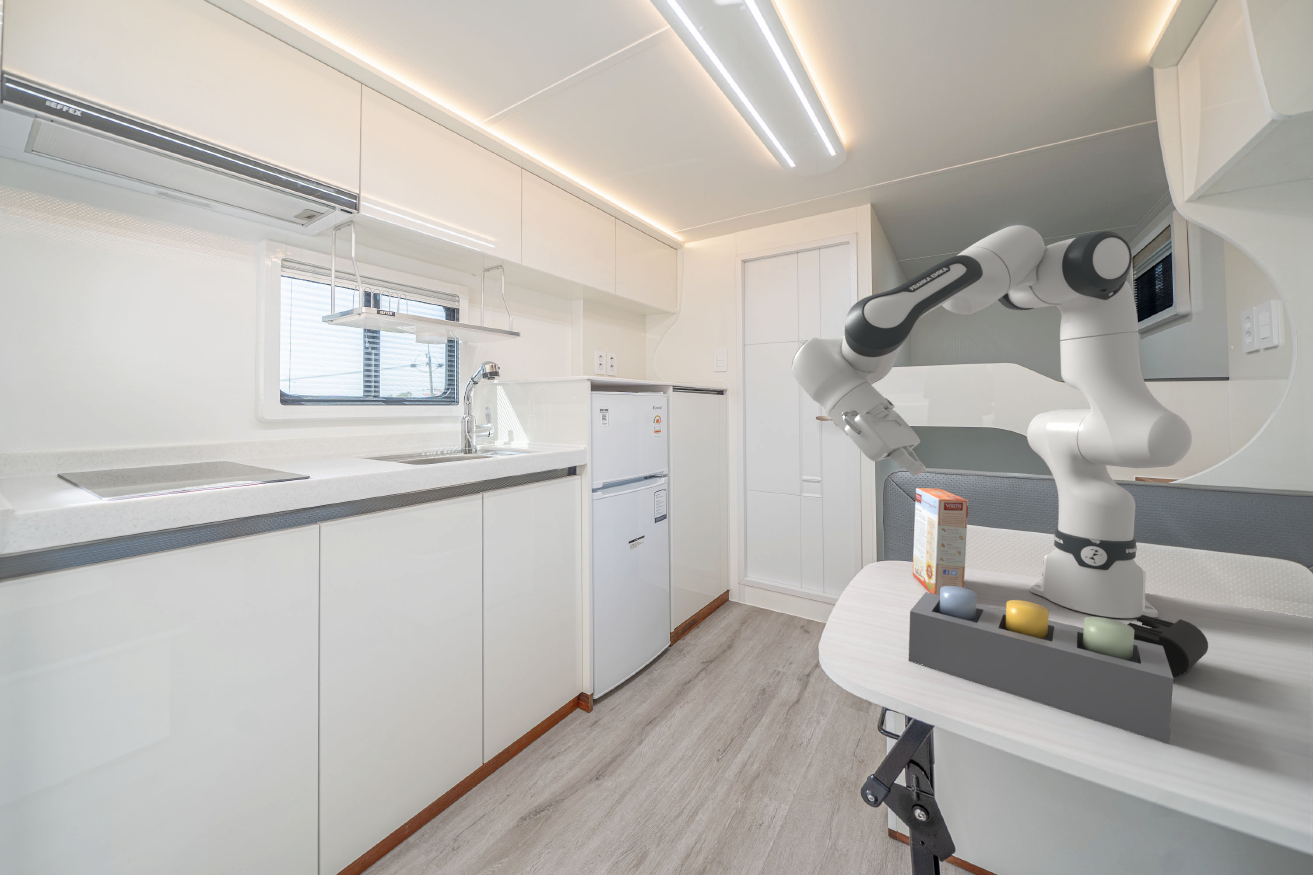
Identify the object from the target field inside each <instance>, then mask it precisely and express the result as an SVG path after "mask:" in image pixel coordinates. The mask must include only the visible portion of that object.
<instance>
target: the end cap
mask: <svg viewBox="0 0 1313 875" xmlns="http://www.w3.org/2000/svg"><path fill="white" fill-rule="evenodd" d="M1136 622H1139V623H1141V624H1136V623H1133V622H1128V623H1127V625H1129V626H1130V627H1132V628H1133V629H1134V640H1138V641H1143V642H1147V643H1152V644H1156V645H1160V646H1163V648H1164V651H1165V654H1166V657H1167V660H1168V663H1169V666H1170V670H1171V673H1172V676H1173V678H1178V677H1181V676H1183V675H1185V674H1186V673H1187V672H1188V671H1190V669H1191V668H1192V667H1193V666H1194V665H1195V664H1196V663H1197V662H1198V661H1200V660H1201V658H1203V657H1204V656H1205V655H1206V654H1207V652H1208V649H1209V642H1208V639H1207V637H1206V635H1205V634H1204V632H1203V631H1201V629H1200V628H1198V627H1197V626H1196V625H1194V624H1192V623H1191V622H1189V621H1187V620H1184V619H1178V620H1177V621H1176V622H1171V621H1167V620H1164V619H1160V618H1158V617H1149V616H1146V615H1141V616H1139V617H1136Z"/></svg>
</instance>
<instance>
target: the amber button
mask: <svg viewBox="0 0 1313 875" xmlns="http://www.w3.org/2000/svg"><path fill="white" fill-rule="evenodd" d="M1005 606H1006V609H1005V610H1006V628H1007V629H1008V630H1009V631H1011V632H1015V633H1019V634H1023V635H1027V636H1031V637H1035V638H1039V639H1043V638H1046V637H1047V636H1048V620H1049V618H1050V617H1049V616H1050V615H1049V614H1050V612H1049V609H1048V608H1046V606H1043V605H1041V604H1039V603H1035V602H1031V601H1026V600H1021V599H1019V600H1018V599H1012V600H1007V601H1006V605H1005Z"/></svg>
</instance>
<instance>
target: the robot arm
mask: <svg viewBox="0 0 1313 875" xmlns="http://www.w3.org/2000/svg"><path fill="white" fill-rule="evenodd" d="M1132 258H1133V254H1132V250H1131V247H1130V245H1129V243H1128V242H1127V241H1126V239H1124V238H1123V236H1121V235H1120V234H1119V233H1117V232H1114V231H1110V230H1107V231H1106V230H1102V231H1091V232H1087V233H1082V234H1081V235H1079V236H1077V237H1073V238H1069V239H1065V240H1062V241H1061V240H1060V241H1057V242H1055V243H1052V244H1049V245H1045V242H1044V240H1043V236H1041V234H1040V233H1039V232H1038V231H1037V230H1036V229H1034V228H1033V227H1030V226H1027V225H1023V224H1020V225H1019V224H1017V225H1010V226H1007V227H1005V228H1002V229H1000V230H997V231H995V232H993V233H991V234H988V235H987V236H986V237H983V238H982V239H980V240H978V241H977V242H975V243H973V244H972V245H970V246H968V247H967V248H965V249H964V250H962V251H961V252H960V253H958V254H957V255H956V256H951V257H949V258H947V259H945V260H943V261H941V262H938V263H937V264H935V265H933V266H932V267H930V268H928V269H926V270H924V271H923V272H921V273H919V274H917V275H916V276H914V277H913V278H911V279H909V280H908V281H906V282H903V283H902V284H900V285H898V286H897V287H894V288H892V289H889V290H885V291H882V292H879V293H875V294H871V295H869V296H865V297H864V298H861V299H860V300H858V301H857V302H856V303H854V304H853V305H852V306H851V308H850V309H849V310H848V312H847V314H846V318H845V324H844V335H841V336H838V337H832V338H819V337H811V338H810V339H808V340H806V341H805V342H804V343H802V345H801V346H800V347H799V349H798V350H797V351H796V353H795V354H794V356H793V359H792V363H791V373H792V375H793V376H794V378H795V380H796V381H797V383H798V384H799V385H800V386H801V387H802V389H803V390H804V391H805V392H806V394H807V395H808V396H809V397H810V399H812V401H815V402H816V403H817V404H819V405H820V406H822V408H823V409H824V410H825V413H826V414H827V416H828V418H830V419H831V420H832V421H833V422H834V424H836V426H838V427H839V429H840V430H841V431H842V432H843V433H844V434H845V435H846V436H848V437H849V438H850V439H851V440H852V442H853V443H854V444H855V445H856V446H857V448H858V449H859V450H860V451H861V452H862V454H863V455H864V456H866V457H867V458H868V459H869V460H871V461H872V462H879V461H882V460H887V459H890V458H891V459H892V460H893V461H894V462H895V463H896V464H897V465H899V466H901V467H902V468H903V469H905V470H906V471H907V472H908V473H909V474H910V475H911V476H913V477H915V476H918V475H920V474H922V473H923V472H924V471H925V470H926V468H927V467H926V466H925V465H924V464H923V463H922V461H920V460H919V458H918V456H917V455H916V453H915V452H914V450H913V449H914V448H916V447H917V446H918V445H919V444H920V443H921V440H920V438H919V436H918V435H917V433H916V432H915V430H914V429H913V428H912V427H911V426H910V425H909V424H908V423H907V422H906V420H905V419H904V418H903V417H902V416H901V415H900V414H899V413H898V412H897V411H896V410H894V408H895V404H893V403H892V401H890V400H889V399H888V398H886V397H884V395H882V393H880V391H878V389H877V388H875V387H874V386H873V384H876V383H877V382H879V381H881V380H882V379H884V378H885V377H886V376H887V375H888V374H889V373H890V372H891V370H892V369H893V367H894V365H895V363H896V361H897V359H898V355H900V352H901V349H902V348H903V346H904V344H905V341H906V340H907V339H908V337H909V335H910V333H911V332H912V329H913V328H914V326H915V324H916V323H917V322H918V321H919V320H920V319H921V318H922V317H924V316H926V315H928V314H929V313H931V312H933V311H935V310H936V309H938V308H939V307H941V306H942V307H943V308H944V309H945V310H947V311H949V312H951V313H954V314H958V315H963V316H964V315H967V316H968V315H972V314H975V313H977V312H979V311H981V310H983V309H985V308H987V307H990V305H993V304H994V303H996V302H997V301H998V303H1000V304H1001V305H1002V306H1003V307H1004V308H1006V309H1008V310H1013V311H1014V310H1015V311H1029V310H1033V309H1035V308H1036V309H1039V308H1046V307H1054V306H1055V307H1057V308H1058V310H1059V313H1060V314H1061V316H1060V325H1059V326H1060V327H1059V340H1060V341H1059V347H1060V348H1059V350H1060V375H1061V379H1062V380H1063V382H1064V383H1065V384H1066V385H1068V386H1070V387H1071V388H1073V389H1075V390H1077V391H1079V392H1080V393H1082V395H1083V396H1084V397H1085V399H1086V401H1087V402H1088V404H1089V407H1090V408H1087V407H1085V408H1084V407H1082V408H1081V407H1080V408H1079V407H1077V408H1076V407H1074V408H1073V407H1072V408H1071V407H1066V408H1065V407H1064V408H1058V409H1052V410H1047V411H1043V412H1040V413H1038V414H1036V415H1035V416H1034V417H1033V418H1032V420H1031V421H1030V423H1029V424H1028V426H1027V432H1026V439H1027V443H1028V445H1029V447H1030V448H1031V450H1032V451H1033V452H1035V453H1036V454H1037V455H1038V456H1039V457H1041V459H1042V460H1043V461H1044V462H1045V464H1046V466H1047V468H1049V470H1050V472H1051V474H1052V478H1053V479H1054V482H1055V485H1056V488H1057V494H1058V496H1057V497H1058V520H1057V523H1058V524H1057V527H1056V528H1055V530H1054V535H1053V540H1054V542H1053V543H1054V544H1053V545H1054V549H1053V550H1052V551H1050V552H1048V553H1047V554H1045V555H1044V557H1043V559H1042V562H1043V571H1042V574H1041V576H1042V578H1041V579H1039V580H1038V581H1037V582H1036V583H1034V584H1033V585H1031V586H1030V592H1031V593H1033V594H1035V595H1039V596H1041V597H1043V598H1045V599H1047V600H1049V601H1051V602H1053V603H1055V604H1057V605H1059V606H1062V607H1065V608H1067V609H1070V610H1074V611H1077V612H1082V613H1084V614H1090V615H1095V616H1098V617H1104V618H1115V619H1133V618H1138V617H1139V616H1141V615H1146V616H1149V617H1153V618H1158V617H1159V611H1158V610H1157V609H1156V608H1155V607H1154V606H1152V604H1151V603H1150V602H1149V601H1147V599H1146V579H1147V578H1146V576H1147V575H1146V571H1145V570H1144V569H1143V568H1142V567H1141V566H1140V565H1139V564H1137V562H1136V561H1135V558H1136V555H1137V550H1138V547H1137V539H1136V538H1134V536H1135V535H1134V534H1135V533H1134V532H1135V517H1136V501H1135V498H1134V497H1133V495H1132V494H1131V493H1130V492H1129V491H1128V490H1127V489H1125V488H1123V487H1122V486H1121V485H1119V484H1117V483H1116V482H1115V481H1114V480H1113V478H1112V477H1111V475H1110V473H1109V471H1108V468H1107V466H1111V467H1120V468H1129V469H1154V468H1167V467H1171V466H1174V465H1175V464H1177V463H1179V462H1180V461H1181V460H1182V459H1184V458H1185V457H1186V455H1187V454H1188V452H1189V450H1190V449H1191V448H1192V447H1191V446H1192V441H1193V438H1192V437H1193V435H1192V431H1191V429H1190V427H1189V425H1188V423H1187V422H1186V421H1185V419H1184V418H1182V417H1181V416H1180V415H1178V414H1176V413H1175V412H1173V411H1171V410H1170V409H1168V408H1166V406H1164V405H1163V404H1162V403H1160V402H1159V400H1158V399H1157V398H1156V397H1155V396H1154V395H1153V393H1152V392H1151V391H1150V389H1149V388H1148V386H1147V384H1146V382H1145V379H1144V377H1143V374H1142V369H1141V368H1142V367H1141V362H1140V348H1139V347H1140V346H1139V344H1140V343H1139V321H1138V320H1139V319H1138V312H1137V307H1136V302H1135V298H1134V293H1133V291H1132V287H1131V285H1130V283H1129V282H1128V281H1127V279H1128V276H1129V274H1130V271H1131V268H1132V264H1133V263H1132V261H1133V260H1132Z"/></svg>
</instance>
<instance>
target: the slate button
mask: <svg viewBox="0 0 1313 875" xmlns="http://www.w3.org/2000/svg"><path fill="white" fill-rule="evenodd" d="M977 600H978V595H977V593H976V592H975V591H973V590H971V589H968V588H966V587H964V588H962V587H956V586H944V587H941V588H940V612H941V613H942V614H943V615H947V616H951V617H955V618H959V619H963V620H967V621H970V620H974V619H976V604H978V603H977Z"/></svg>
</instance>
